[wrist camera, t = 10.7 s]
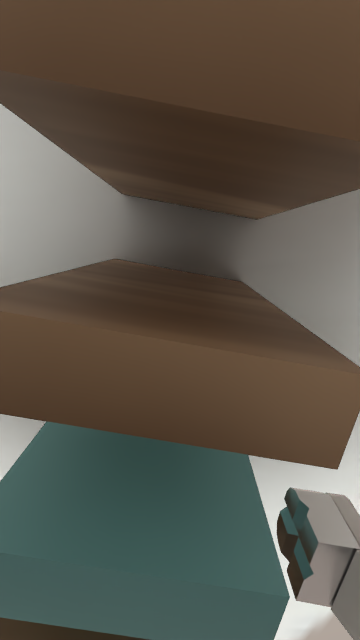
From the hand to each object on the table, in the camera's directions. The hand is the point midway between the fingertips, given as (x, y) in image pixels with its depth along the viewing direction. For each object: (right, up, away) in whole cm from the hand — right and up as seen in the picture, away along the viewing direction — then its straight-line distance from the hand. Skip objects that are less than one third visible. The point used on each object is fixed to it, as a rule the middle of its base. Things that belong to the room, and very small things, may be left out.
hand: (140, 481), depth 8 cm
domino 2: (+1, +6, +6) cm, 8 cm away
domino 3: (0, +2, +7) cm, 7 cm away
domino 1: (+2, +10, +5) cm, 11 cm away
